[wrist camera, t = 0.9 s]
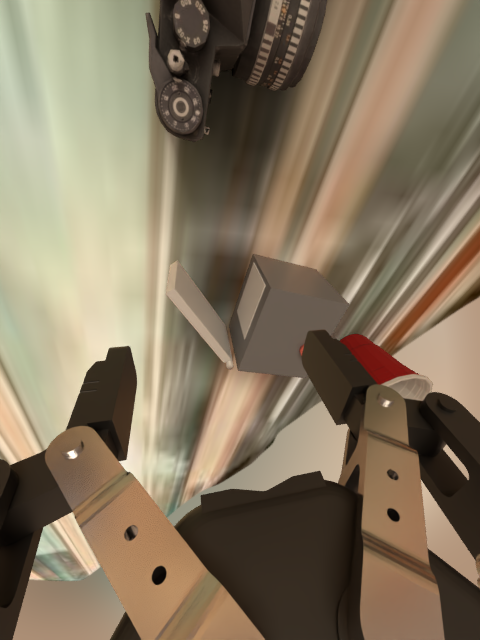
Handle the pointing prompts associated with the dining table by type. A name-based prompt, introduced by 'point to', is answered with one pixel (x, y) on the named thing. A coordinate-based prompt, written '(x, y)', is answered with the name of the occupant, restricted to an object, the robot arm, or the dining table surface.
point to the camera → (226, 52)
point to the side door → (198, 312)
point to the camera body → (281, 315)
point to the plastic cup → (387, 368)
